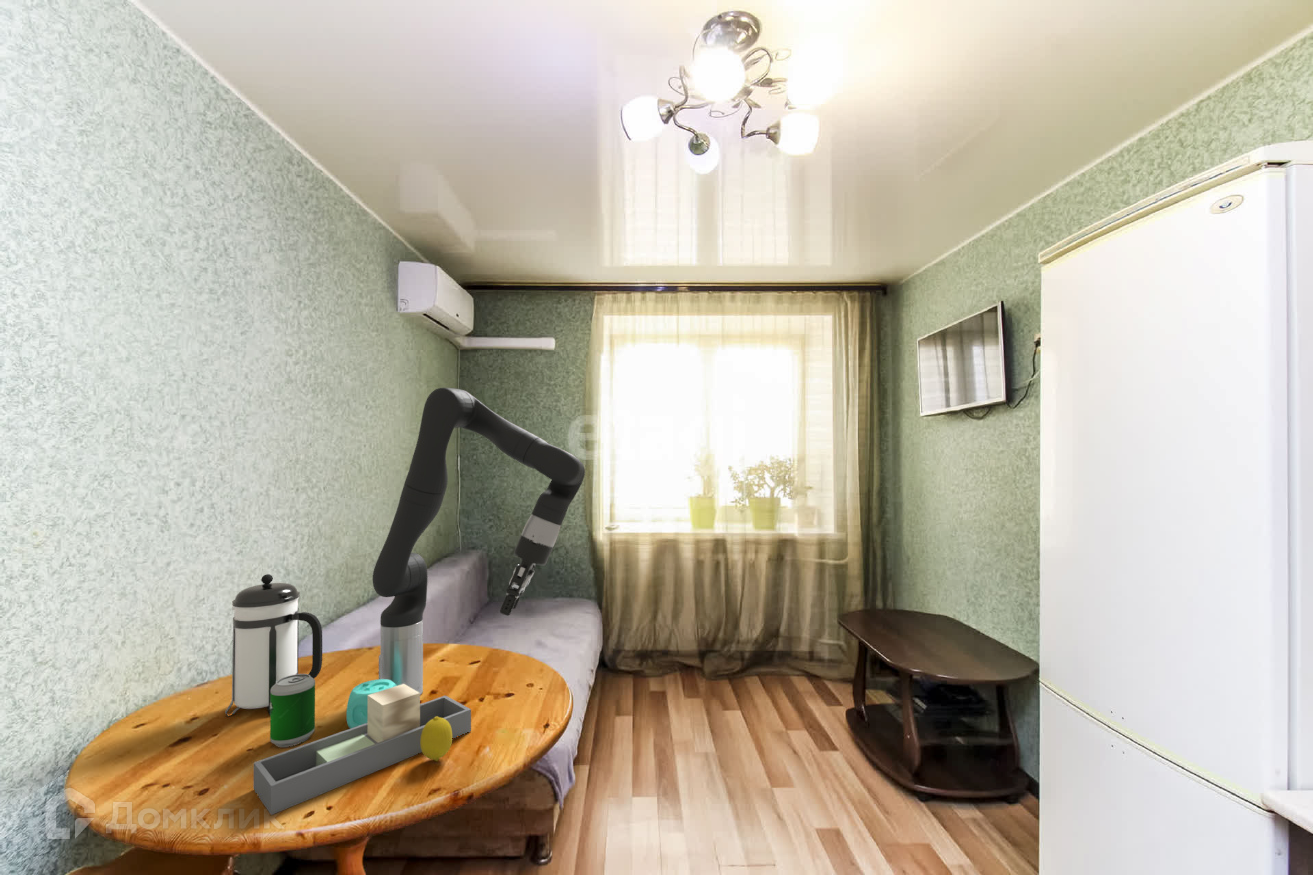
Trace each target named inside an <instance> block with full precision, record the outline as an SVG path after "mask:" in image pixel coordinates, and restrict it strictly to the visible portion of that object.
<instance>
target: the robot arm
mask: <svg viewBox="0 0 1313 875" xmlns="http://www.w3.org/2000/svg"><path fill="white" fill-rule="evenodd" d="M457 428H462V429H465V430H468V431H471V432H474V433H476V434H479V435H481V436H482V437H484V438H486V439H487V440H489V441H490V442H491V443H492V444H494V446H496V448H498V449H499V450H500V451H501V452H503V453H504V454H506V455H507V456H508V457H510V458H511V459H513V460H515V461H517V462H519V463H521V464H523V465H524V466H526V467H527V468H528V467H529V469H533V470H536V471H537V472H539V473H541V474H542V475H544V476H545V477H547V478H548V479H550V480H551V481H550V482H549V484H548V486H547V489H546V490H545V491H543V492H541V493H540V495H539V496H538V498H537V500H536V502H535V505H534V507H533V509H532V512H531V514H530V516H529V518H528V519H527V521H526V523H525V525H524V527H523V530H522V533H521V534H520V536H519V538H518V541H517V543H516V546H515V548H514V551H513V554H514V555H515V556H516V557H517V558H520V559H521V562H520V564H517V565H516V566H515V567H514V570H513V574H512V575H511V578H510V580H509V584H508V587H507V588H506V591H505V594H506V596H505V598H504V600H503V603H502V605H501V607H500V610H499V612H500V614H502V615H505V616H508V617H509V616H510V615H511V613H512V611H513V610H514V609H516V608H517V606H518V604H519V601H520V599H521V596H522V594H523V593H524V592H525V589H526V588H527V587H528V586H529V584H530V582H531V579H532V578H533V576H534V574H535V572H536V571H535V570H534V569H535V568H536V565H537V566H538V565H539V566H546V565H547V563H548V560H549V558H550V555H551V554H552V551H553V550H554V546H555V544H556V541H557V539H558V536H559V534H560V529H561V526H562V524H563V522H564V520H565V518H566V515H567V512H568V509H569V506H570V505H571V503H572V502H573V499H574V498H575V497H576V495H577V493H578V492H579V490H580V488H581V486H582V484H583V482H584V478H585V474H586V471H585V470H586V469H585V465H584V464H583V463H582V461H581V460H580V459H579V458H578V457H576V456H575V455H573V454H572V453H570V452H568V451H566V450H564V449H562V448H560V447H557V446H555V445H553V444H550V443H548V442H547V441H546V440H544V439H543V438H540V437H539V436H538V435H536V434H533V433H532V432H529V431H527V430H526V429H524V428H523V427H520V426H518V425H516V424H514V423H512V422H511V421H509V420H507V419H505V418H503V417H502V416H501V415H499V414H497V413H496V412H494V411H493V410H491V409H490V408H489V407H488V406H486V405H485V404H484V403H482V402H481V401H480V400H479V399H477V398H476V397H475V396H473V394H471V393H469V392H468V391H466V390H463V389H460V388H453V387H439V388H436V389H434V390H432V391H431V392H430V393H429V395H428V396H427V398H426V400H425V403H424V406H423V410H422V416H421V421H420V427H419V432H418V436H417V440H416V441H417V442H416V445H415V449H414V452H413V455H412V459H411V462H410V465H409V468H408V472H407V475H406V478H405V480H404V483H403V487H402V491H401V494H400V497H399V502H398V504H397V508H396V512H395V514H394V517H393V519H392V522H391V526H390V528H389V529H390V530H389V531H388V534H387V536H386V539H385V542H384V544H383V547H382V548H381V550H380V553H379V556H378V558H377V560H376V562H375V564H374V568H373V571H372V572H373V573H372V587H373V589H374V591H375V592H376V594H377V595H378V596H380V597H382V598H391V597H392V598H393V597H394V598H393V599H392V601H391V603H390V604H389V605H387V607H386V608H384V609H383V611H382V612H381V614H380V621H379V623H380V654H379V655H378V679H387V680H391V681H392V682H394V683H395V684H396V685H397V686H398V685H402V684H405V685H407V686H409V687H410V688H412V689H414V690H416V691H417V692H419V693H420V696H421V695H422V694H423V690H424V689H423V688H424V687H423V686H424V683H423V681H424V631H423V630H424V629H423V628H424V624H423V622H424V617H423V616H424V612H425V609H426V606H427V600H428V599H427V597H428V596H427V595H428V577H429V576H428V567H427V563H426V561H425V559H424V557H422V555H420V554H419V553H416V552H413V549H414V546H415V545H416V543H417V541H418V540H419V538H420V537H421V536H422V534H423V533H424V532H425V530H427V528H429V526H430V524H432V522H433V520H434V519H435V518H436V516H437V515H438V513H439V512H440V509H441V508H442V504H443V502H444V498H445V495H446V492H447V487H448V482H449V481H448V480H449V477H448V468H447V449H448V446H449V443H450V439H451V436H452V434H453V432H454V430H455V429H457Z"/></svg>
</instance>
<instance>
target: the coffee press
mask: <svg viewBox="0 0 1313 875" xmlns="http://www.w3.org/2000/svg"><path fill="white" fill-rule="evenodd" d="M273 580H274V577H273V575H271V574H268V573H267V574H264V575H263V576H262V577H261V579H260V581H261V583H262V584H257V585H252V586H249V587H246V588H244V589H242V590H241V591H239V592H238V593H237V594H236V595H235V598H234V599H233V601H232V603H231V606H232V608H231V610H232V611H233V612H234V614H233V618H232V662H231V663H232V666H231V668H232V669H231V670H232V671H231V673H232V674H231V679H232V680H231V701H230V704H229V705H228V707H226V709H225V711H224V714H225V715H226V716H227V717H229V716H228V715H227V714H228V712H229V710H230V709H231V708H232V707H233V705H235V706H236V707H235V709H233V711H232V712H233V713H232V712H231V713H232V714H233V715H235V713H236V712H238V711H239V710H241V709H246V710H252V709H253V710H256V709H262V708H267V712H268V716H270V702H271V688H272V686H273V685H275V684H276V682H277V681H278V680H279V679H281V678H284V677H287V676H290V675H296V674H299V625H300V624H299V621H301V622H302V621H303V622H306V623H308V625H309V626H310V628H311V634H312V642H311V643H312V654H311V655H312V657H311V658H312V660H311V661H312V664H311V669H310V671H309V673H307V674H308V675H310V677H312V678H314V679H316V678H317V677H318V675H319V674H320V672H321V670H322V666H323V628H322V624H321V621H320V620H319V619H318V617H317V616H316V615H314V614H313V613H310V612H306V611H301V612H299V610H300V609H299V605H298V604H299V603H298V600H299V599H300V595H301V593H300V591H298V589H297V588H296V586H294V585H293V584H291V583H286V582H273ZM271 582H272V583H271Z"/></svg>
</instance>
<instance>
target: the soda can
mask: <svg viewBox="0 0 1313 875" xmlns="http://www.w3.org/2000/svg"><path fill="white" fill-rule="evenodd" d="M308 674H309V673H298V674H296V675H290V676H287V677H284V678H281V679H279V680H278V681H277V682H276V684H275V685H273V686H272V688H271V702H270V715H269V716H270V720H269V721H270V722H269V724H270V726H269V741H270V742H271V743H272V744H273V745H275V746H276V747H277V746H278V747H277V748H290V747H294V746H297V744H298V745H300V744H302V743H305V742H306V741H308V739H310V737H311V736H312V734H313V733H314V732H315V730H316V713H315V712H316V679H315V678H312V677H310V675H308ZM301 742H302V743H301ZM299 743H300V744H299ZM293 745H294V746H293ZM289 746H290V747H289Z"/></svg>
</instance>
